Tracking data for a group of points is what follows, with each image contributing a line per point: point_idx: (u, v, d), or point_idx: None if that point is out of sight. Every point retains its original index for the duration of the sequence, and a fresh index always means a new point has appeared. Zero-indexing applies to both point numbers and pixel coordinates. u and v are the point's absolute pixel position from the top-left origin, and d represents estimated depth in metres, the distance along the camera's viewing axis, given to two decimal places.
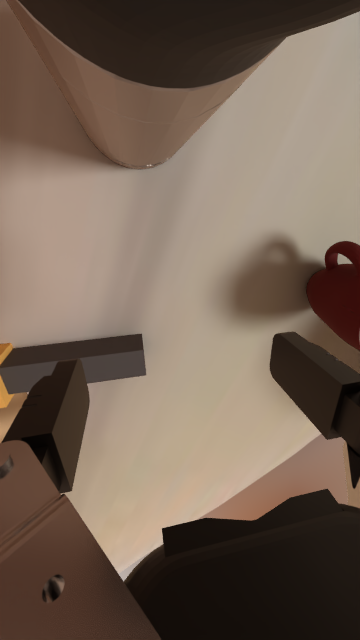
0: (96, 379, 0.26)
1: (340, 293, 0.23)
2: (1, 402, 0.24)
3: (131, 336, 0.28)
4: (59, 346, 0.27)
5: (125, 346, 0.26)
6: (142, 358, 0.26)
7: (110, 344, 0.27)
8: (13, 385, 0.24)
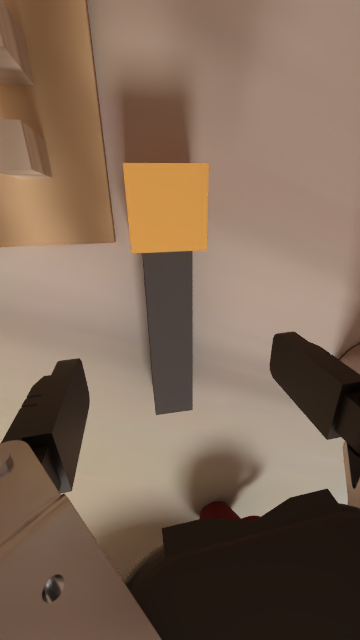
0: (156, 363, 0.19)
1: None
2: (142, 248, 0.15)
3: None
4: None
5: None
6: (181, 409, 0.21)
7: None
8: (159, 261, 0.16)
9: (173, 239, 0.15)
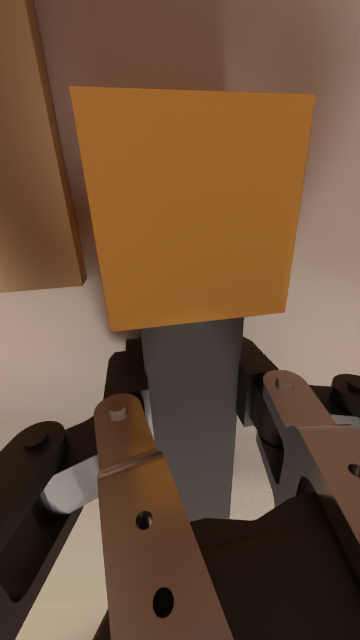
0: None
1: None
2: (136, 318, 0.06)
3: None
4: None
5: None
6: None
7: None
8: (174, 333, 0.07)
9: (212, 294, 0.06)
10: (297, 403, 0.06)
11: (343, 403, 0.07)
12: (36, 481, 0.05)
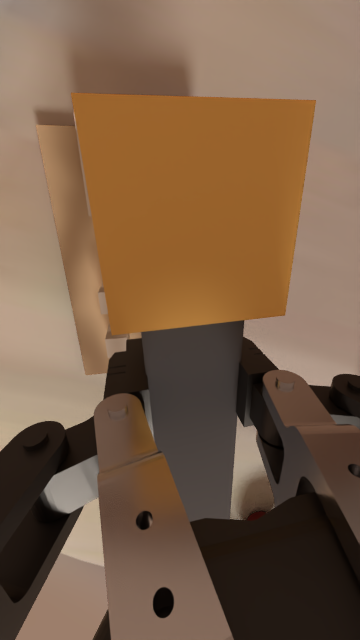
0: None
1: None
2: (138, 322, 0.06)
3: None
4: None
5: None
6: None
7: None
8: (175, 335, 0.07)
9: (213, 298, 0.06)
10: (297, 403, 0.06)
11: (343, 403, 0.07)
12: (36, 481, 0.05)
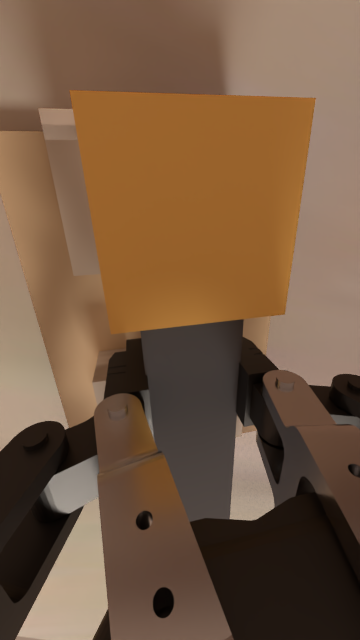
0: None
1: None
2: (137, 320, 0.06)
3: None
4: None
5: None
6: None
7: None
8: (174, 334, 0.07)
9: (212, 297, 0.06)
10: (297, 403, 0.06)
11: (343, 403, 0.07)
12: (36, 481, 0.05)
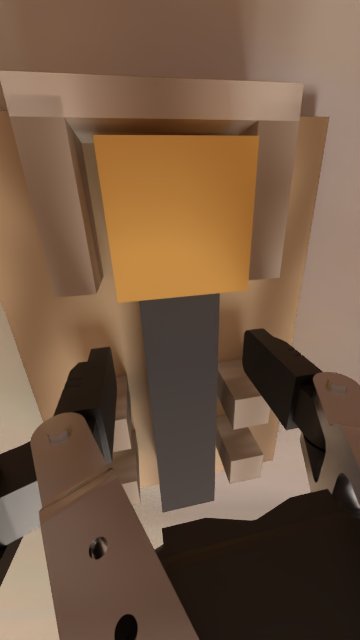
0: (162, 450, 0.13)
1: None
2: (136, 293, 0.08)
3: None
4: None
5: None
6: (198, 502, 0.15)
7: None
8: (166, 308, 0.10)
9: (192, 276, 0.08)
10: (356, 406, 0.06)
11: None
12: None
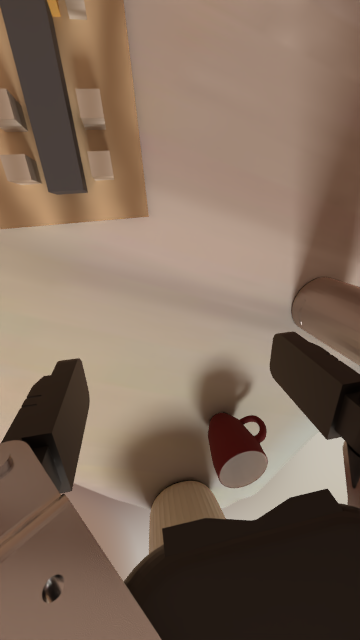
0: (35, 124, 0.21)
1: (244, 433, 0.39)
2: None
3: (85, 180, 0.26)
4: (65, 85, 0.23)
5: (80, 169, 0.24)
6: (72, 188, 0.24)
7: (77, 152, 0.24)
8: None
9: None
10: None
11: None
12: None
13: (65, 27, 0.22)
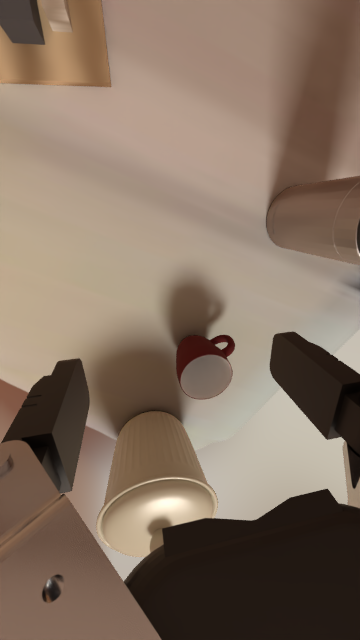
0: None
1: (211, 344, 0.38)
2: None
3: (41, 26, 0.25)
4: None
5: (31, 2, 0.23)
6: (21, 17, 0.23)
7: None
8: None
9: None
10: None
11: None
12: None
13: None
